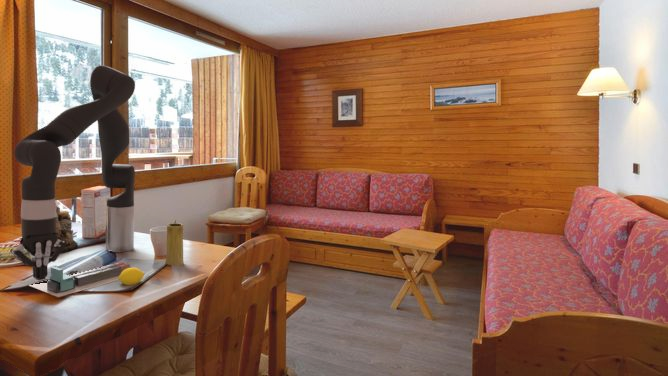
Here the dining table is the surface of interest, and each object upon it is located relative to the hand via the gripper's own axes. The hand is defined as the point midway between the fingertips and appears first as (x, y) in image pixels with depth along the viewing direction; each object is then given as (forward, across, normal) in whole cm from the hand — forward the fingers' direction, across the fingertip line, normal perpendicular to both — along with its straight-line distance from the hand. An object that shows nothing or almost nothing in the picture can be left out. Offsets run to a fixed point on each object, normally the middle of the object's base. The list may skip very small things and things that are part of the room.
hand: (40, 278), depth 107 cm
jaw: (+4, +16, +1) cm, 17 cm away
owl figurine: (+5, +26, +43) cm, 51 cm away
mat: (+5, +14, +2) cm, 15 cm away
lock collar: (+4, +5, 0) cm, 6 cm away
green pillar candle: (+5, +41, -4) cm, 41 cm away
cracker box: (+6, +48, +54) cm, 73 cm away
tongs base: (+4, +14, 0) cm, 14 cm away
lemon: (+5, +19, -10) cm, 23 cm away
